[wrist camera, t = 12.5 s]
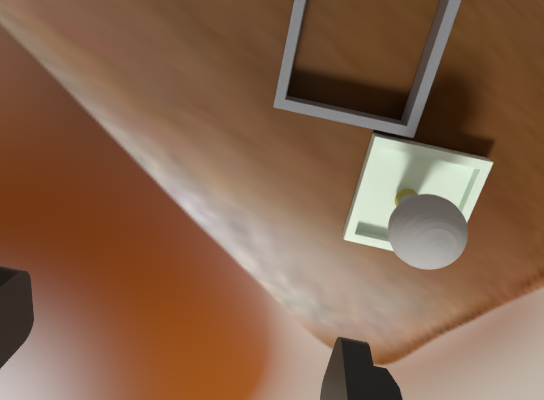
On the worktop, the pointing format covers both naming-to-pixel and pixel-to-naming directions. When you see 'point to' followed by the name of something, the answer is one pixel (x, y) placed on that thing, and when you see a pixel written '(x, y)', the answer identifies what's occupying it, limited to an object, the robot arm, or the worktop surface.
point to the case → (400, 127)
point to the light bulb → (426, 230)
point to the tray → (409, 183)
